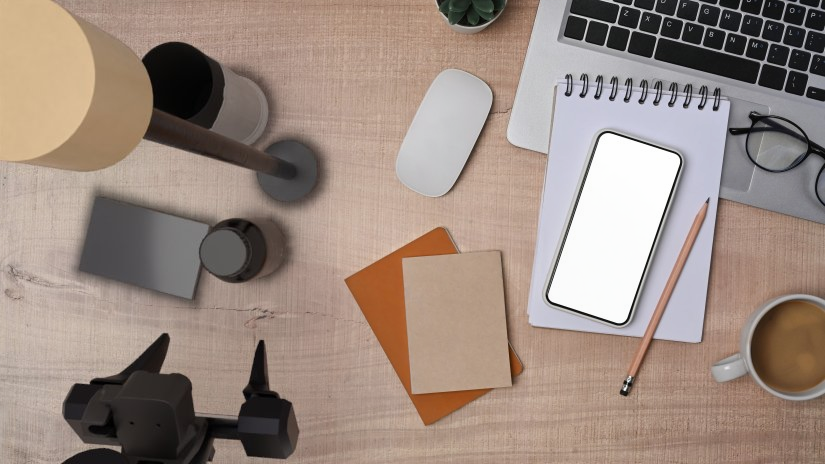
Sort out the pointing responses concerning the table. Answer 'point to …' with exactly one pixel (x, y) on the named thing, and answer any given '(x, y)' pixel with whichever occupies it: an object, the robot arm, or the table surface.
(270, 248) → the supplement bottle
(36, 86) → the desk lamp
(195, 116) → the glass holder
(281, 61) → the table surface
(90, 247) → the slate tile
